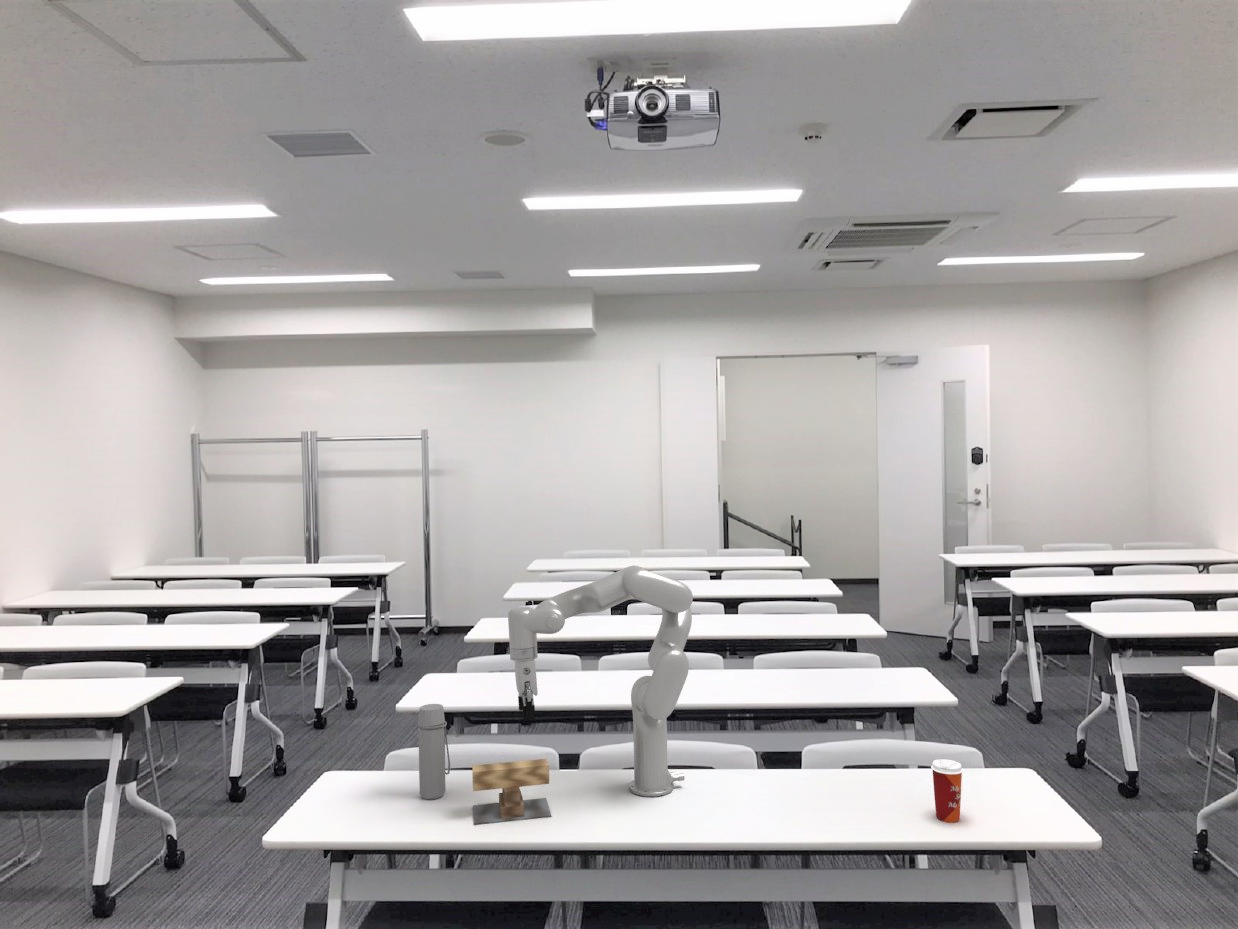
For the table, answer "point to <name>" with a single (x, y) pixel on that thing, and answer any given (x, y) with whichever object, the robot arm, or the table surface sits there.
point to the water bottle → (432, 751)
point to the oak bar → (510, 774)
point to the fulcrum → (511, 808)
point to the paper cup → (947, 789)
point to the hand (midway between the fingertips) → (526, 714)
